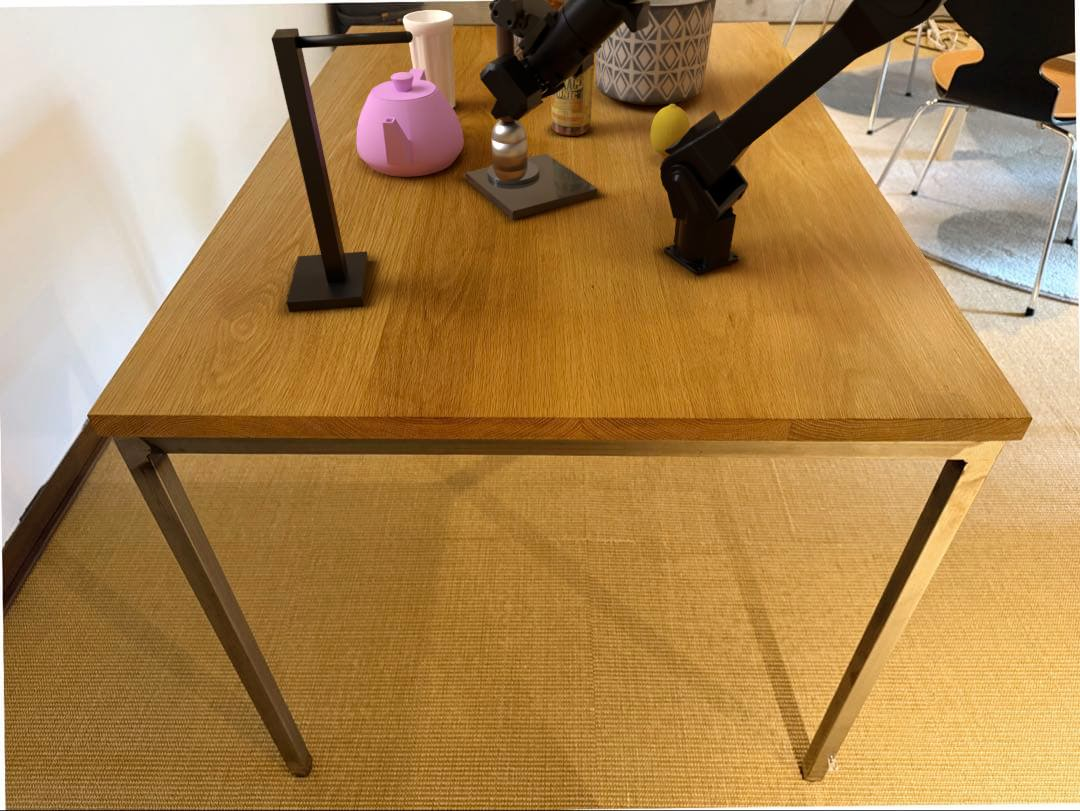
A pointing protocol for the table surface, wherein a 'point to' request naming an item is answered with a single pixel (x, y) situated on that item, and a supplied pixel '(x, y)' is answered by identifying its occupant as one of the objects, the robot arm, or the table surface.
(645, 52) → the planter
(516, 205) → the hob
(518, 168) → the silver tipped brown rod
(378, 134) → the teapot
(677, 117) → the lemon
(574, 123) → the sauce bottle
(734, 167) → the robot arm
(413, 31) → the cup
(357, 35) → the hanger
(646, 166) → the table surface
